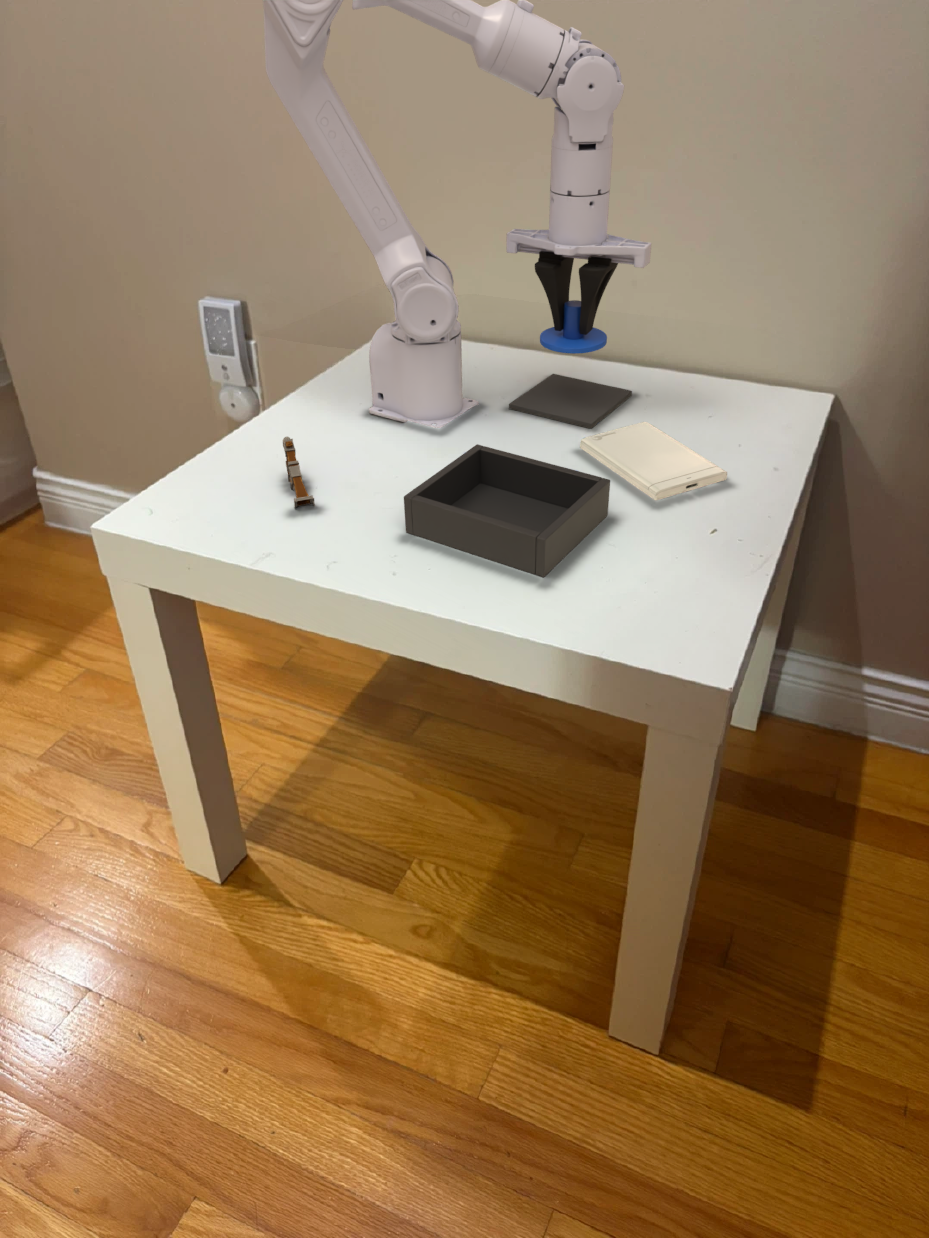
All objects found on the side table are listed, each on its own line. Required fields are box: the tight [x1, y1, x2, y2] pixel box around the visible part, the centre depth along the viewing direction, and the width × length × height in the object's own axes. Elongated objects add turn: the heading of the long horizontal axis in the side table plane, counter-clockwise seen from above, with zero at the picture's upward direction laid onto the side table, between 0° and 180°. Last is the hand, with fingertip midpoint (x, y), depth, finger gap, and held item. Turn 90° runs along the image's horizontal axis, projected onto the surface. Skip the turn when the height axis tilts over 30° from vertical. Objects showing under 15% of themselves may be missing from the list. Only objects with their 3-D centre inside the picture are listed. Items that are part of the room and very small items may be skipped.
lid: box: [539, 299, 608, 355], centre depth 100 cm, size 7×7×4 cm
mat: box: [508, 373, 633, 429], centre depth 105 cm, size 10×10×1 cm
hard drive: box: [579, 421, 728, 501], centre depth 92 cm, size 2×8×12 cm
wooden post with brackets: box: [282, 436, 316, 508], centre depth 89 cm, size 2×8×4 cm, turn 18°
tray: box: [403, 443, 611, 579], centre depth 83 cm, size 14×12×4 cm
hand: (573, 329), depth 100 cm, fingers closed on lid, 2 cm apart
